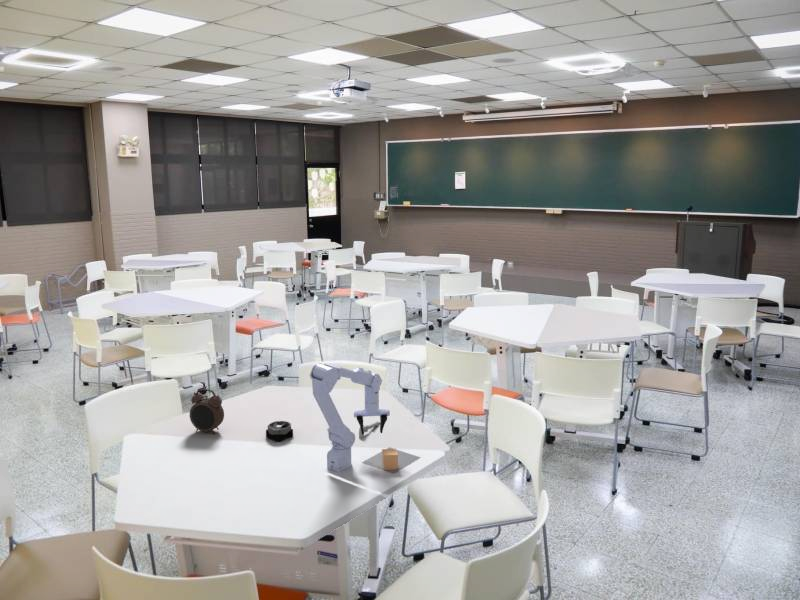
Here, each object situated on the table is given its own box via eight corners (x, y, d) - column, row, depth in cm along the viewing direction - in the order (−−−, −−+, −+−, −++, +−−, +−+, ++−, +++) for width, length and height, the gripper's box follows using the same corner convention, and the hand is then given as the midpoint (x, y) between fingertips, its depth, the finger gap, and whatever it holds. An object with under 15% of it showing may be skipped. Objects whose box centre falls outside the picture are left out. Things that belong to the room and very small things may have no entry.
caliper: (361, 440, 266) (361, 426, 265) (358, 440, 267) (358, 426, 266) (380, 423, 285) (380, 410, 284) (378, 423, 286) (378, 410, 284)
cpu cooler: (281, 418, 275) (295, 424, 269) (281, 430, 276) (296, 436, 270) (262, 425, 268) (276, 431, 261) (263, 437, 269) (277, 443, 262)
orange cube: (397, 469, 237) (397, 454, 236) (383, 470, 236) (383, 455, 235) (396, 462, 242) (396, 448, 241) (382, 463, 241) (382, 449, 240)
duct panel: (393, 476, 233) (393, 464, 232) (361, 464, 243) (361, 453, 242) (420, 459, 247) (420, 448, 246) (389, 449, 257) (389, 438, 256)
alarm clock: (188, 433, 272) (185, 390, 268) (197, 427, 279) (195, 385, 275) (218, 436, 269) (215, 393, 265) (226, 430, 276) (224, 388, 272)
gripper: (388, 397, 253) (388, 427, 255) (353, 398, 251) (353, 429, 253) (390, 402, 246) (390, 434, 249) (354, 404, 244) (354, 436, 246)
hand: (371, 432), depth 250 cm, fingers open, 7 cm apart
